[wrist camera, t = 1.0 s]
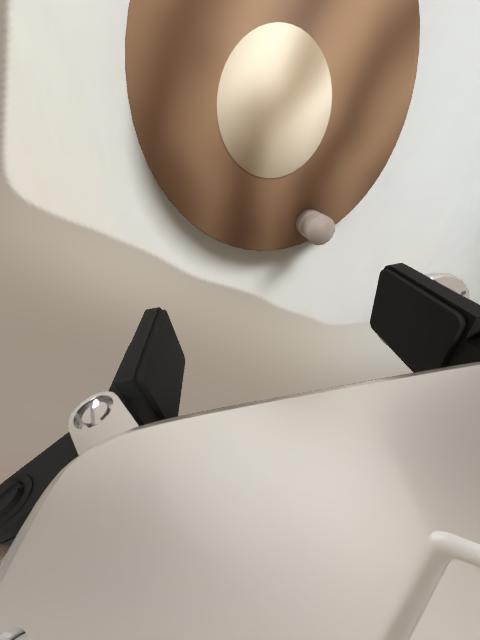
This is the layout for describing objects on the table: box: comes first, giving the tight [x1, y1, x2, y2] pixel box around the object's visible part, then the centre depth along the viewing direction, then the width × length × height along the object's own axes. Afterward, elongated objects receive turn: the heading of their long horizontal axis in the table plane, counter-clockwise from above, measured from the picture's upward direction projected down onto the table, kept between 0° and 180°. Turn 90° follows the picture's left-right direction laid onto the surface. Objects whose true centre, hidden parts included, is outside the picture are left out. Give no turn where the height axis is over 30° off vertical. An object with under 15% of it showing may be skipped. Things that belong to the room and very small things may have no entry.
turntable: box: [125, 0, 420, 251], centre depth 18 cm, size 22×22×6 cm
